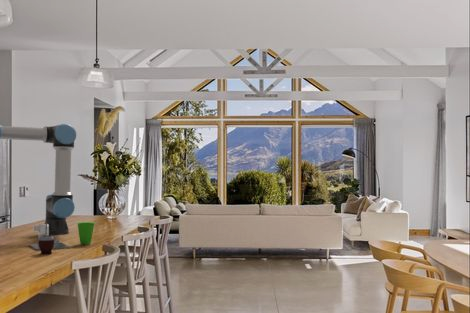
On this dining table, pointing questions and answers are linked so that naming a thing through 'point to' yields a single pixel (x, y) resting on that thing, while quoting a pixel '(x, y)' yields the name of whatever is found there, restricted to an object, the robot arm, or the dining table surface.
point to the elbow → (41, 230)
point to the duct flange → (56, 246)
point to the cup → (85, 232)
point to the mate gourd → (46, 243)
